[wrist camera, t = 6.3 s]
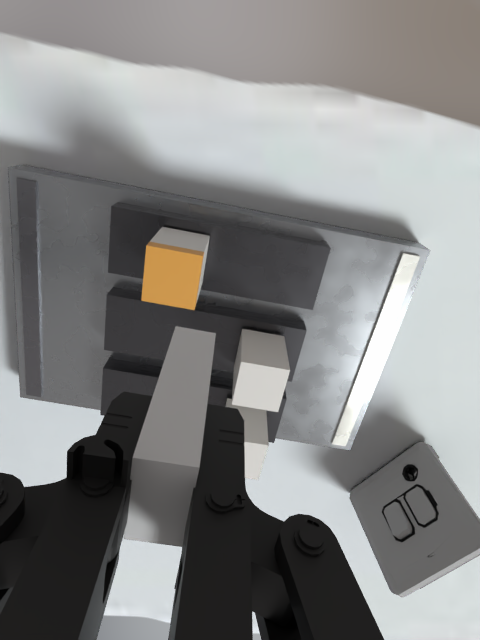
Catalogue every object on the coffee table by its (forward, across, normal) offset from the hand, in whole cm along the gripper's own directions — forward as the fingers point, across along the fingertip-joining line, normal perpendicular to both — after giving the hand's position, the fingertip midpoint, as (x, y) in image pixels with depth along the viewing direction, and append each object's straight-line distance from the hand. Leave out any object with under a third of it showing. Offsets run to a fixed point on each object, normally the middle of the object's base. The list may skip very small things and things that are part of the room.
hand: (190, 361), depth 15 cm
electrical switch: (+16, +22, -19) cm, 33 cm away
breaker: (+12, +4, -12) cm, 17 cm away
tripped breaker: (+12, -2, 0) cm, 12 cm away
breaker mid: (+12, +4, -6) cm, 14 cm away
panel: (+16, 0, -6) cm, 17 cm away
